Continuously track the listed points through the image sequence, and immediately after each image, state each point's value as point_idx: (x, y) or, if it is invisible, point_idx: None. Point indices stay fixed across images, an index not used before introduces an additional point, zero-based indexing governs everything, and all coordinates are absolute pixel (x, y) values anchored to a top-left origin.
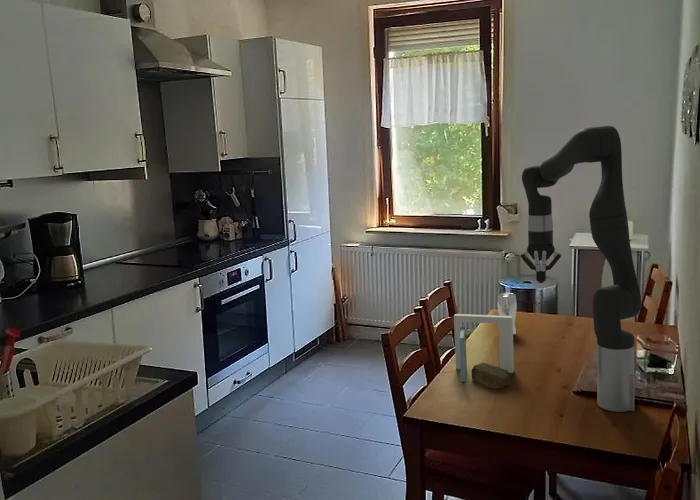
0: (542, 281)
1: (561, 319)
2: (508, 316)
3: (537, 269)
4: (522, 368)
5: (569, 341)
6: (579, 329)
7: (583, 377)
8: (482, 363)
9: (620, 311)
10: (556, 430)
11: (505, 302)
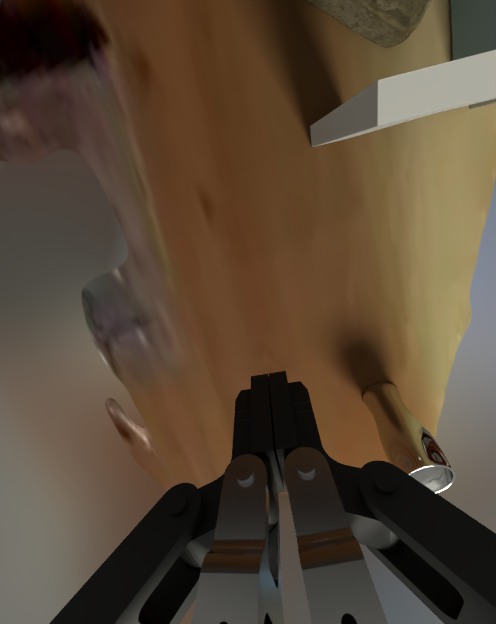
0: (256, 380)
1: None
2: (399, 108)
3: (311, 467)
4: (294, 178)
5: (246, 387)
6: None
7: (132, 176)
8: (415, 5)
9: None
10: None
11: (421, 449)
